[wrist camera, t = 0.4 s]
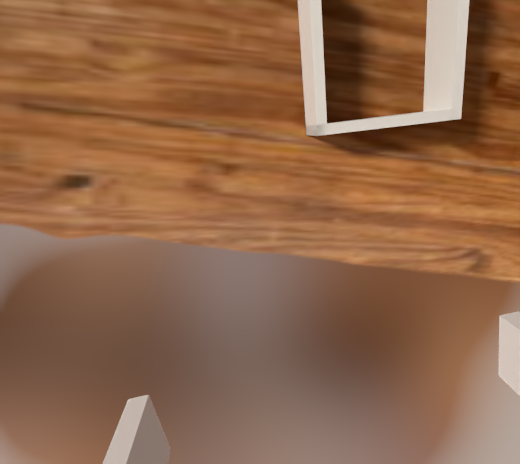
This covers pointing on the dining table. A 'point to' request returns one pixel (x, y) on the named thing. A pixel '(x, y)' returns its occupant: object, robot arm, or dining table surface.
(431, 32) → the frame
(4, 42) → the dining table surface
